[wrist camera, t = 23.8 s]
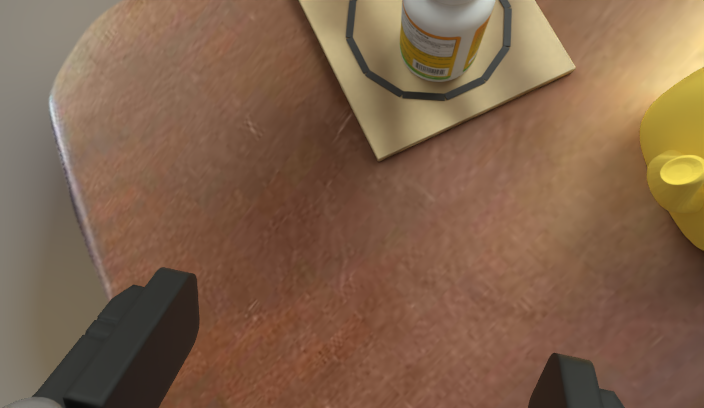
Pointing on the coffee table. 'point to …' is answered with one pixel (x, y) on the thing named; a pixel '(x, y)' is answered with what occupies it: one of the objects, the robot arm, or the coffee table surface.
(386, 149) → the board
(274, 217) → the coffee table surface
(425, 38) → the supplement bottle
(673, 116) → the teapot
